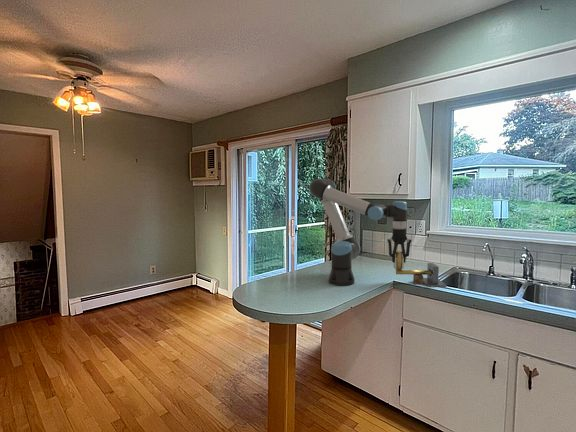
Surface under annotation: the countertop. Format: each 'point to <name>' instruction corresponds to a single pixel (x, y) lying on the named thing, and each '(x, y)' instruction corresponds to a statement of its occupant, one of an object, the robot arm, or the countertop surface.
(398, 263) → the hook rod
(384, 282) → the countertop surface
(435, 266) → the grey upright block
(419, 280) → the rest block
